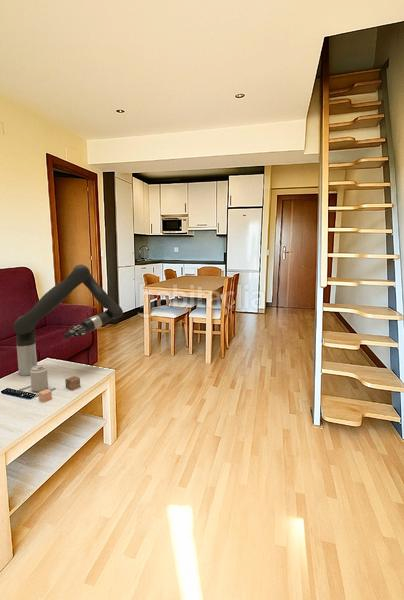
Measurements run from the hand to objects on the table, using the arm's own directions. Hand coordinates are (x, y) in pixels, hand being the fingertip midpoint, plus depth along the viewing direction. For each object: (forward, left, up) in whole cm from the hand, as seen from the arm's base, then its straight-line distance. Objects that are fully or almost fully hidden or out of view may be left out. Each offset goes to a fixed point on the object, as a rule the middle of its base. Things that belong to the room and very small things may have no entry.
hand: (63, 336), depth 164 cm
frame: (+2, -18, -23) cm, 29 cm away
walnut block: (+15, -6, -23) cm, 28 cm away
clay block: (+15, -21, -23) cm, 35 cm away
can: (+3, -16, -23) cm, 29 cm away
